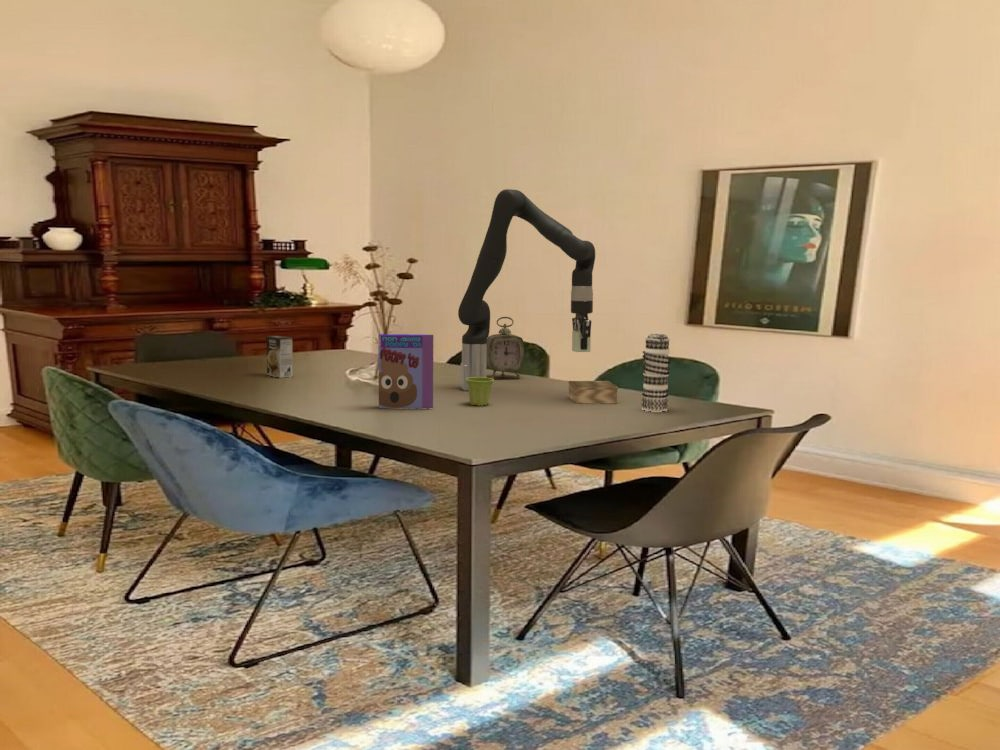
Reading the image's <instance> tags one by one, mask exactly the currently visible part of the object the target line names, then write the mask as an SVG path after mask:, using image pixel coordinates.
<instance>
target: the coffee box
mask: <svg viewBox="0 0 1000 750" xmlns="http://www.w3.org/2000/svg"><path fill="white" fill-rule="evenodd" d="M265 341H266V345H265V347H266V375H270V376H275V377H289V378H293V377H294V375H293V374H294V373H293V371H294V369H293V367H294V366H293V364H294V363H293V362H294V361H293V337H291V336H284V335H267V336H266V340H265ZM270 376H269V377H270ZM292 376H293V377H292ZM275 377H274V378H275Z"/></svg>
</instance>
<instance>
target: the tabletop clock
mask: <svg viewBox="0 0 1000 750" xmlns="http://www.w3.org/2000/svg"><path fill="white" fill-rule="evenodd" d="M502 319H508V320H510V321H511V322H512V323H511V324H509V325H507V323H503V325H501V324H499V323H498V322H499V321H500V320H502ZM496 324H497V326H499V327H501V328H500V329H499V331H498V334H497V333H496V334H491V335H489V336H488V338H487V367H488V368H490V370H493V372H492V375H490V378H492V379H494V380H495V378H496V377H495V375H496V372H502V373H501V374H500V377H501V378H502V377H503V378H505V377H506V376H505V374H504V373H505V372H514V373H515V375H516V379H518V378H519V379H520V378H521V375H520V374H518V372H517V371H520V370H521V369H522V368H523V366H524V361H525V354H526V352H525V344H524V339H523V337H520V336H518V335H515V334H512V331H511V329H509V327H512V326H513V325H514V320H513V319H512V317H509V316H501V317H499V318H497V320H496ZM519 379H518V380H519Z"/></svg>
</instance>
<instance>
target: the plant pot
mask: <svg viewBox="0 0 1000 750" xmlns="http://www.w3.org/2000/svg"><path fill="white" fill-rule="evenodd" d="M466 381H467V384H468V389H469V390H468V397H469V404H470V405H471V406H475V405H476V406H478V407H482V406H483V405H485V406H488V405H489V403H490V401H489V400H490V397H491V396H490V395H491V389H492V385H493V382H494V381H495V378H494V379H492V378H491V377H487V376H486V377H470V378H466ZM487 404H488V405H487ZM480 405H481V406H480Z"/></svg>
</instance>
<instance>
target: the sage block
mask: <svg viewBox="0 0 1000 750" xmlns="http://www.w3.org/2000/svg"><path fill="white" fill-rule="evenodd" d="M591 333H592V331H591V332H590V337H588V339H587V349H586V350H582V349H581V336H580V332H579V331H573V330H572V331H571V336H572V337H571V351H572V352H575V353H591V349H592V348H591V345H592V344H591V342H592V341H591V340H592V339H591V336H592V335H591ZM585 334H586V332H585Z"/></svg>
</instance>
